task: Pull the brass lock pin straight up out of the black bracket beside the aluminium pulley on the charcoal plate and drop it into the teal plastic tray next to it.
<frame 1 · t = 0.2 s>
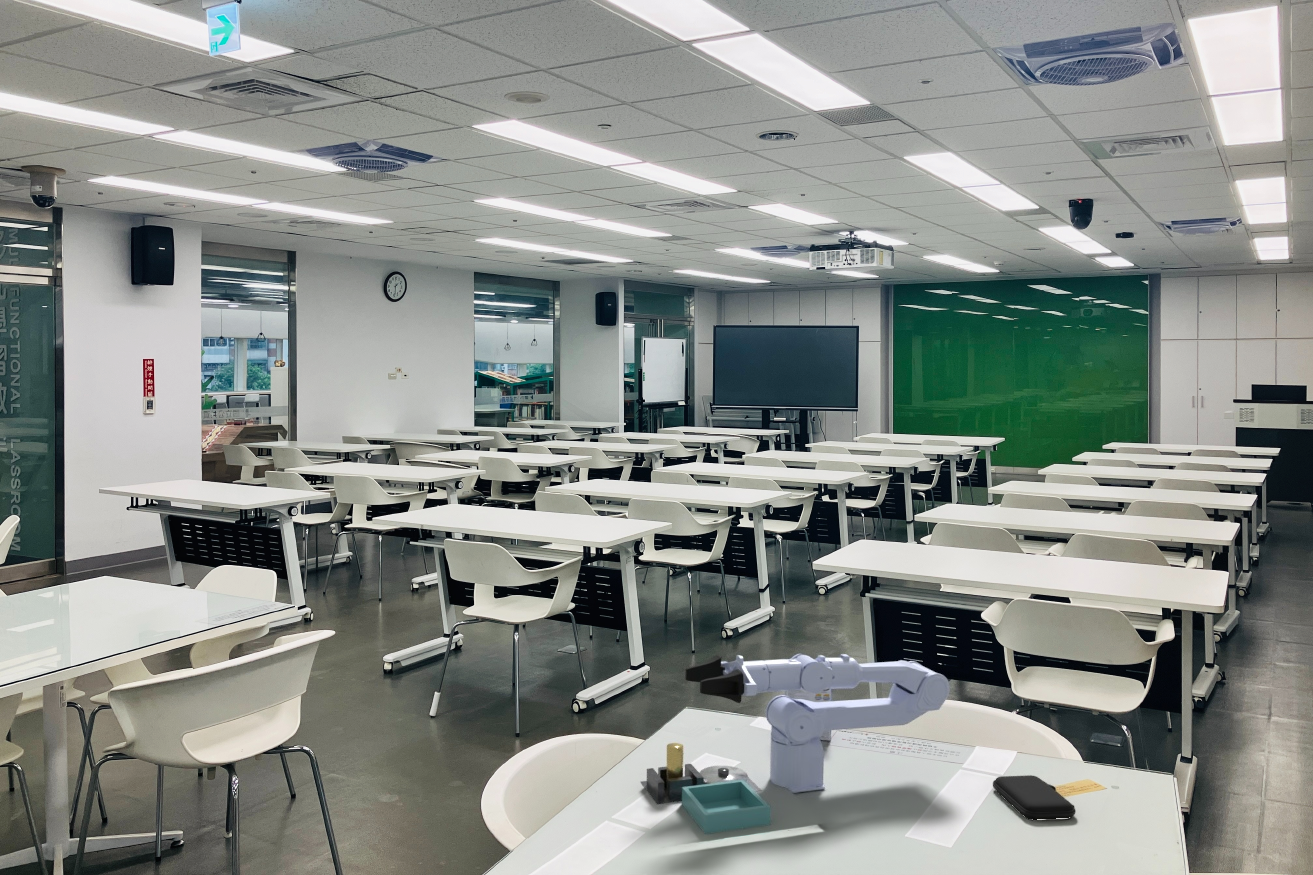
hand: (693, 680, 172), 21 cm above the table, tool horizontal, fingers open, 7 cm apart
ink cartridge box: (808, 736, 205), on the table
carrying case or bag: (1035, 806, 172), on the table
tray: (724, 819, 164), on the table
lock pin: (674, 789, 174), point 1 cm above the table, touching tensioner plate
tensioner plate: (700, 791, 176), on the table
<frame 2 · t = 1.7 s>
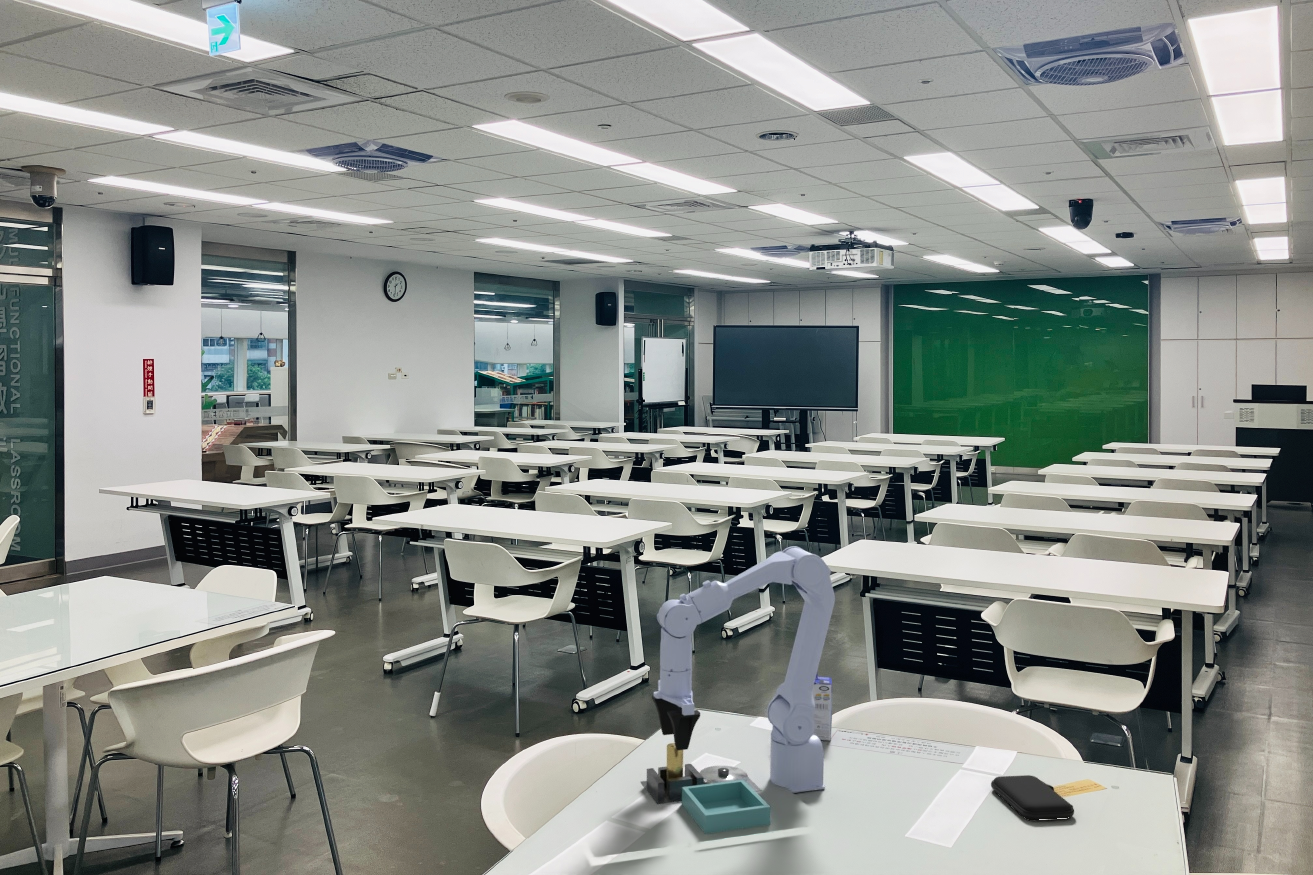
hand: (674, 741, 174), 10 cm above the table, tool pointing down, fingers open, 7 cm apart
nothing on the table moved.
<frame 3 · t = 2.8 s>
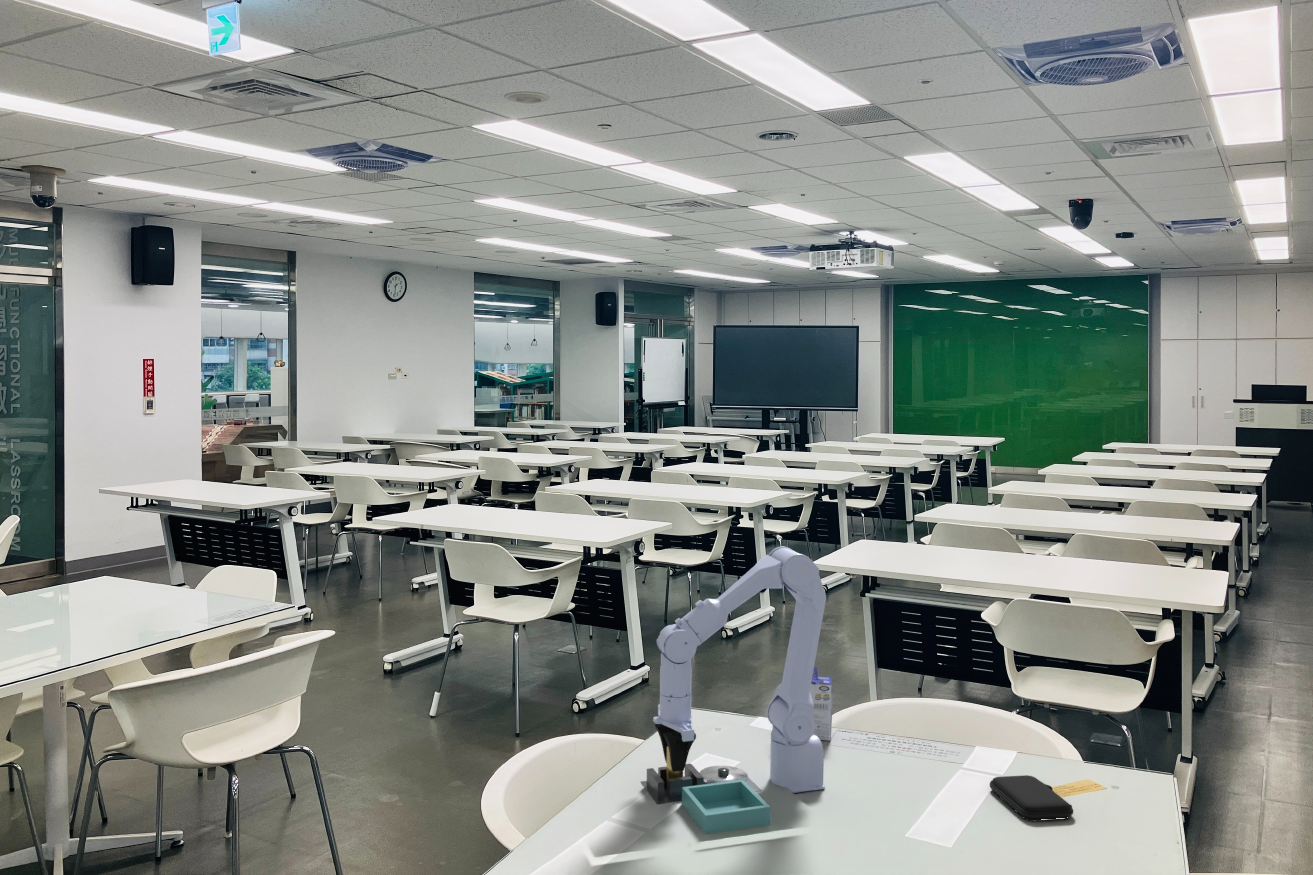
hand: (674, 766, 174), 5 cm above the table, tool pointing down, fingers closed on lock pin, 3 cm apart
lock pin: (674, 789, 174), point 1 cm above the table, touching gripper, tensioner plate
everything else where it was.
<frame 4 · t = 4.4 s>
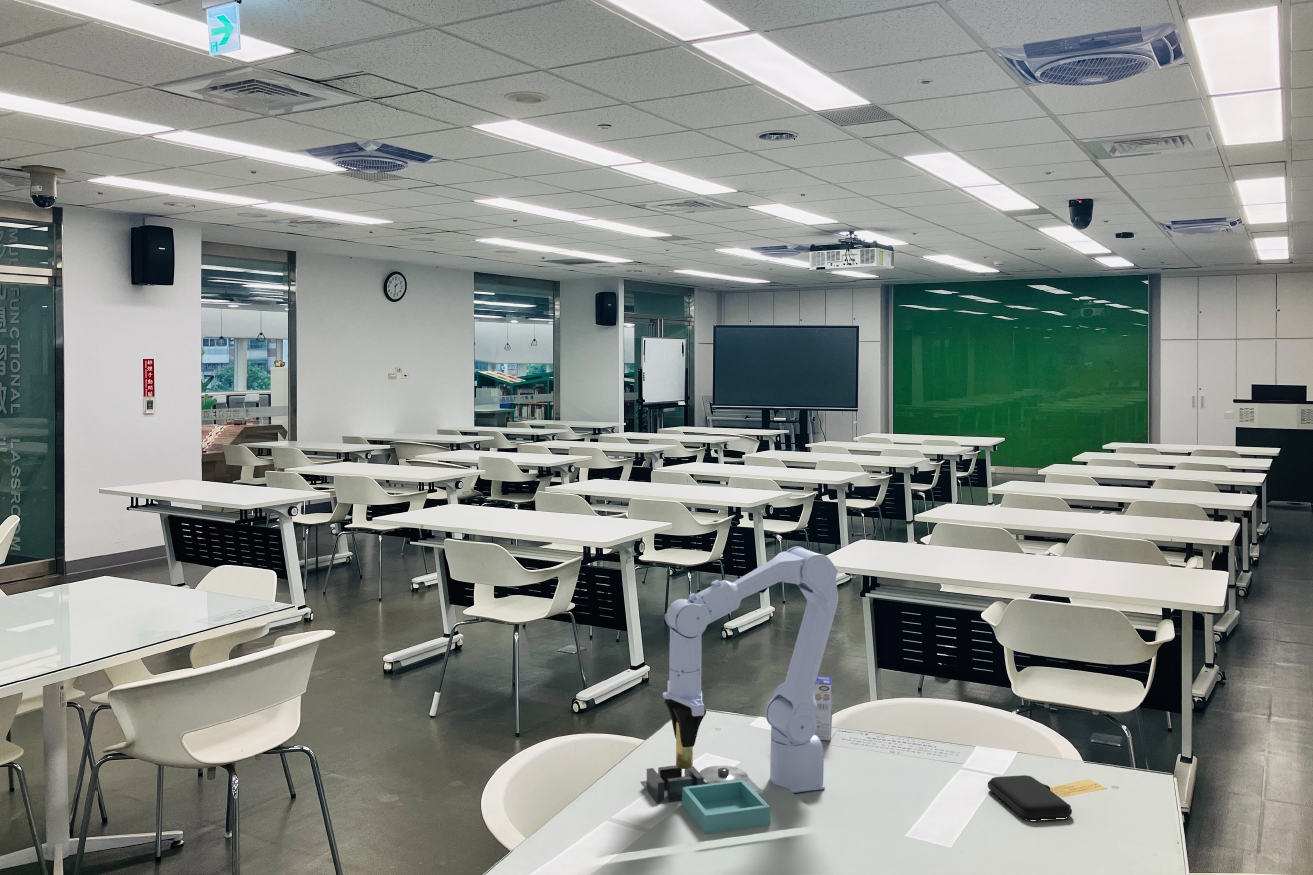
hand: (684, 742, 172), 10 cm above the table, tool pointing down, fingers closed on lock pin, 3 cm apart
lock pin: (684, 765, 172), point 6 cm above the table, touching gripper
everything else where it was.
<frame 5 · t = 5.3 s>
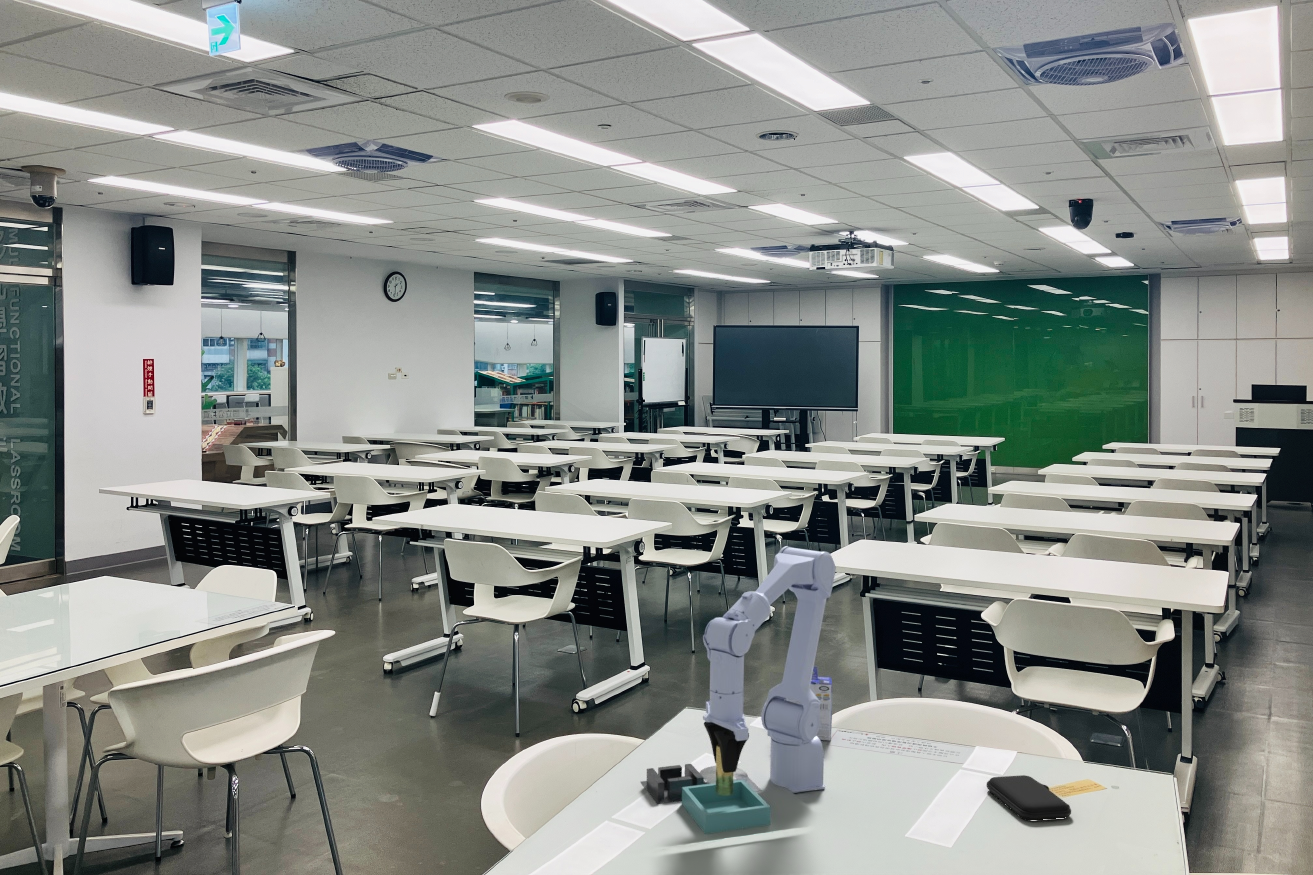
hand: (725, 767, 164), 9 cm above the table, tool pointing down, fingers closed on lock pin, 3 cm apart
lock pin: (724, 791, 164), point 5 cm above the table, touching gripper
when the fingers open (7 cm above the table, at t = 5.9 s): lock pin drops 2 cm, resting on tray.
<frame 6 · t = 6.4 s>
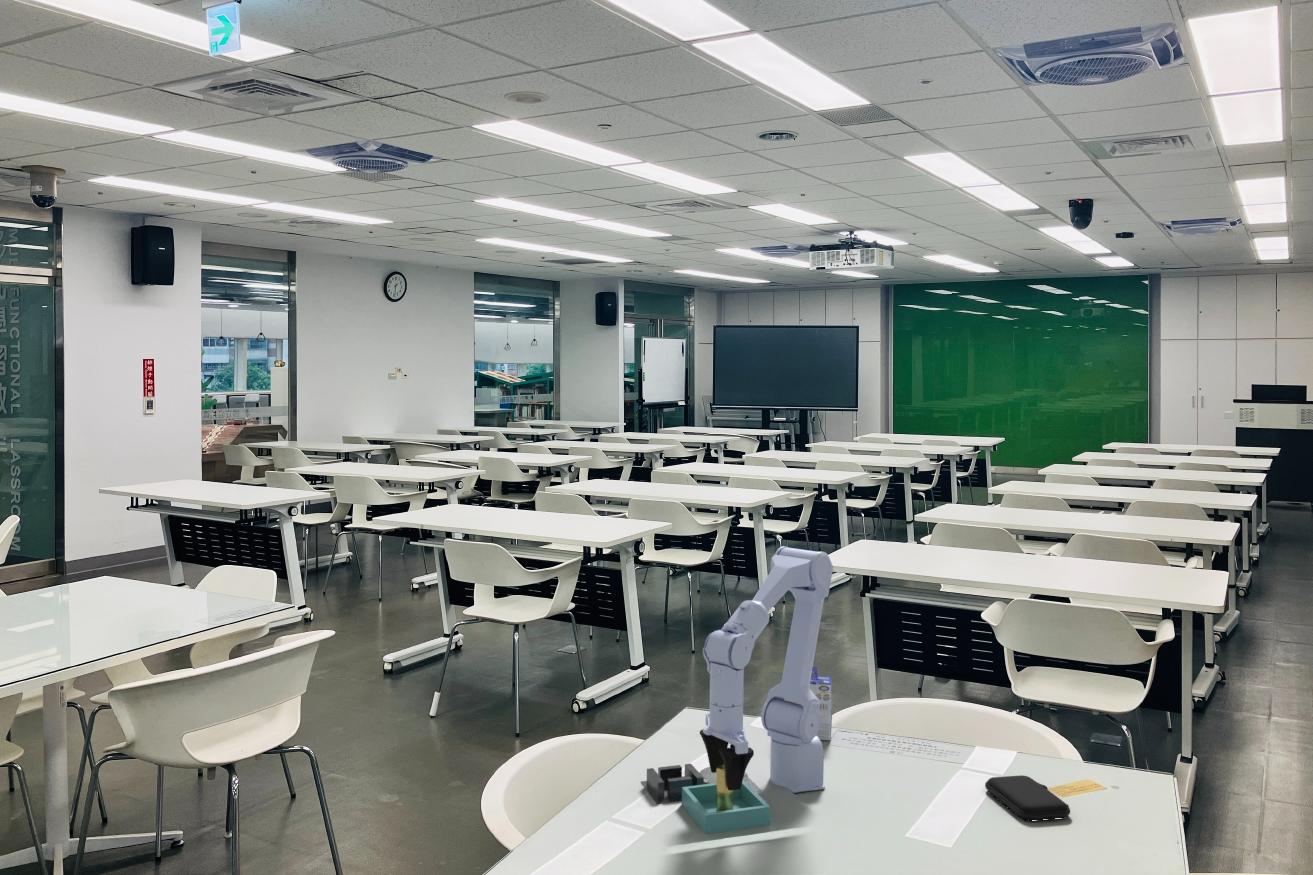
hand: (725, 779, 164), 7 cm above the table, tool pointing down, fingers open, 7 cm apart
lock pin: (724, 814, 164), point 1 cm above the table, touching tray
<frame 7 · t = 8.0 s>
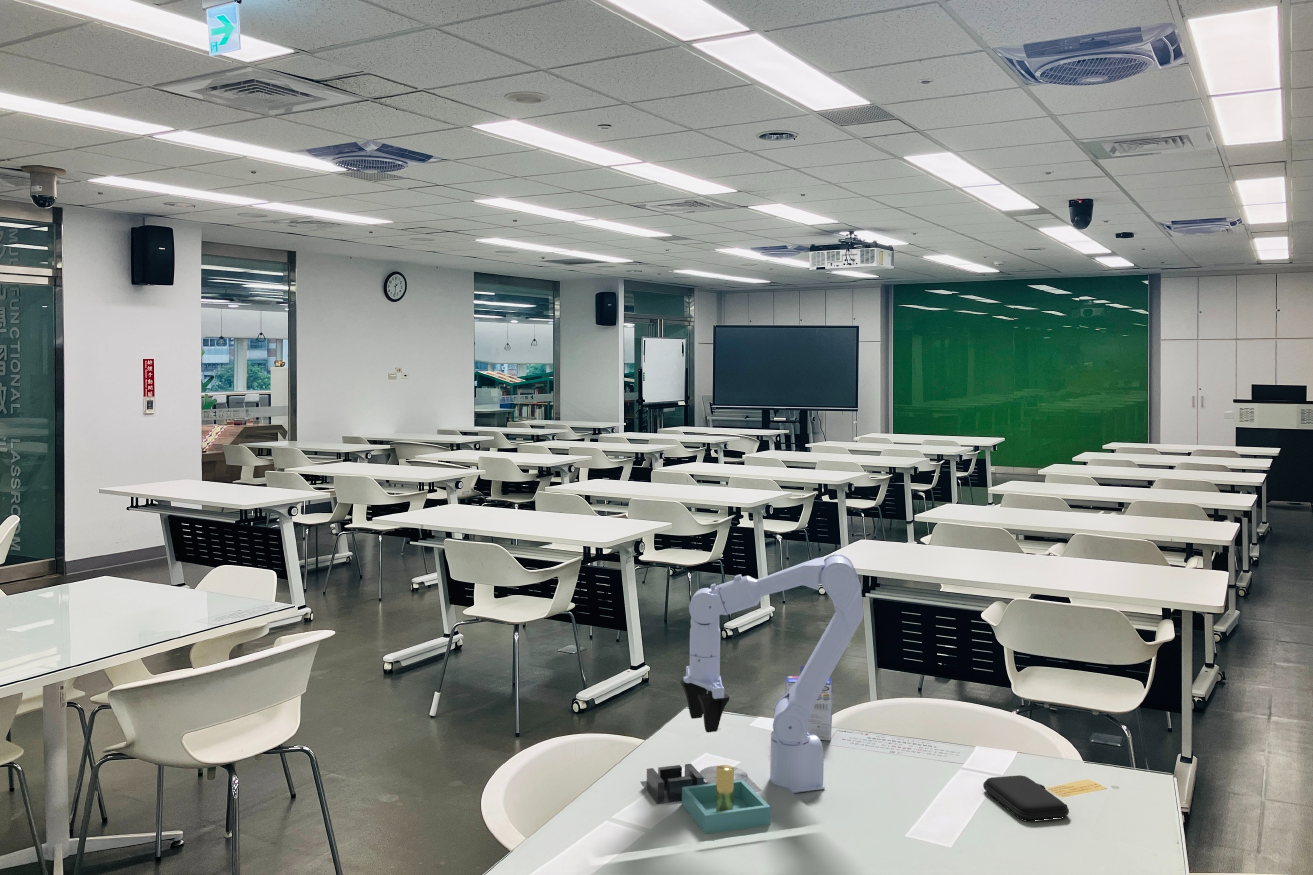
hand: (703, 724, 181), 10 cm above the table, tool pointing down, fingers open, 7 cm apart
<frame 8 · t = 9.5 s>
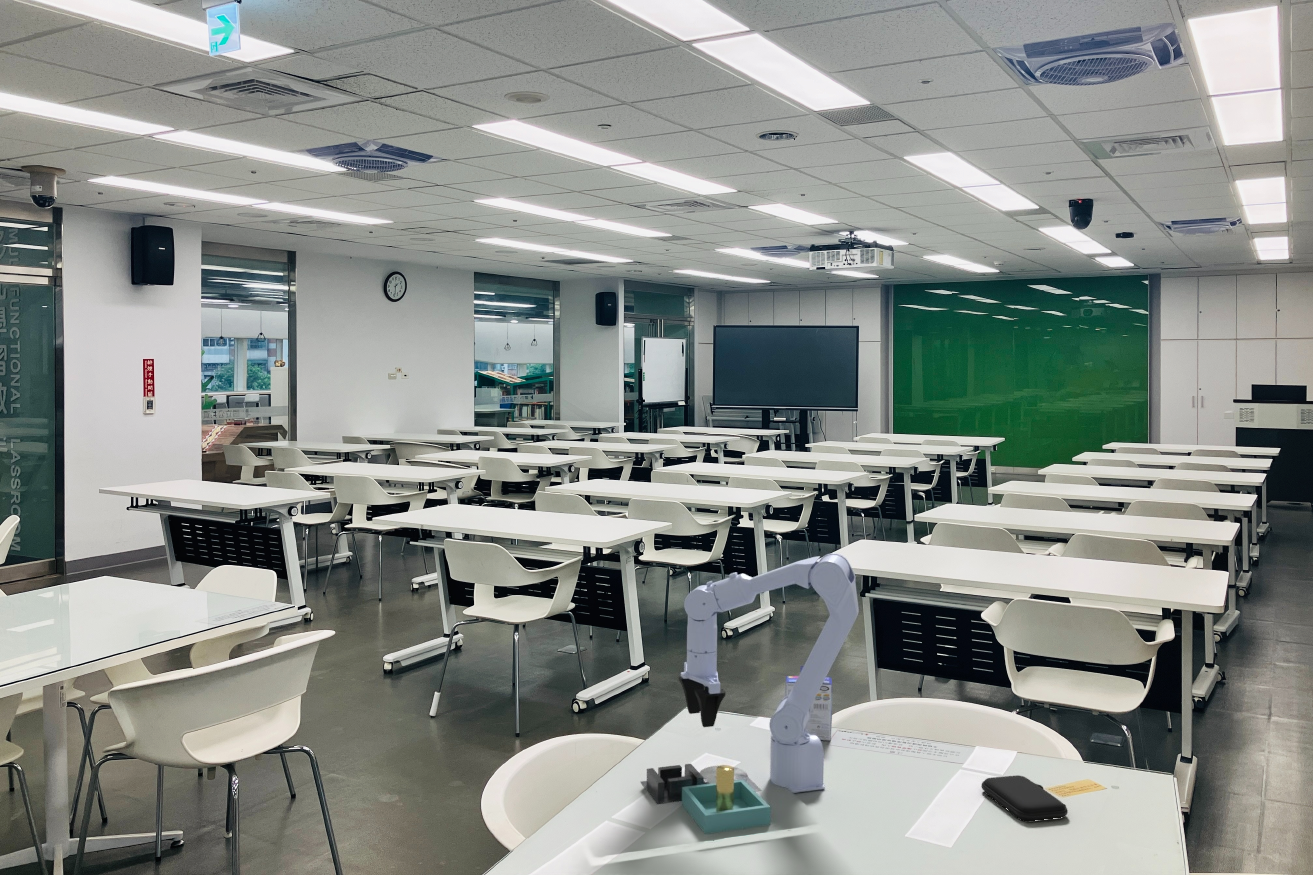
hand: (701, 719, 184), 10 cm above the table, tool pointing down, fingers open, 7 cm apart
at the end: lock pin inside the target area on the tray (0.1 cm from its centre), point 1.0 cm above the tray's base; the gripper is holding nothing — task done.
